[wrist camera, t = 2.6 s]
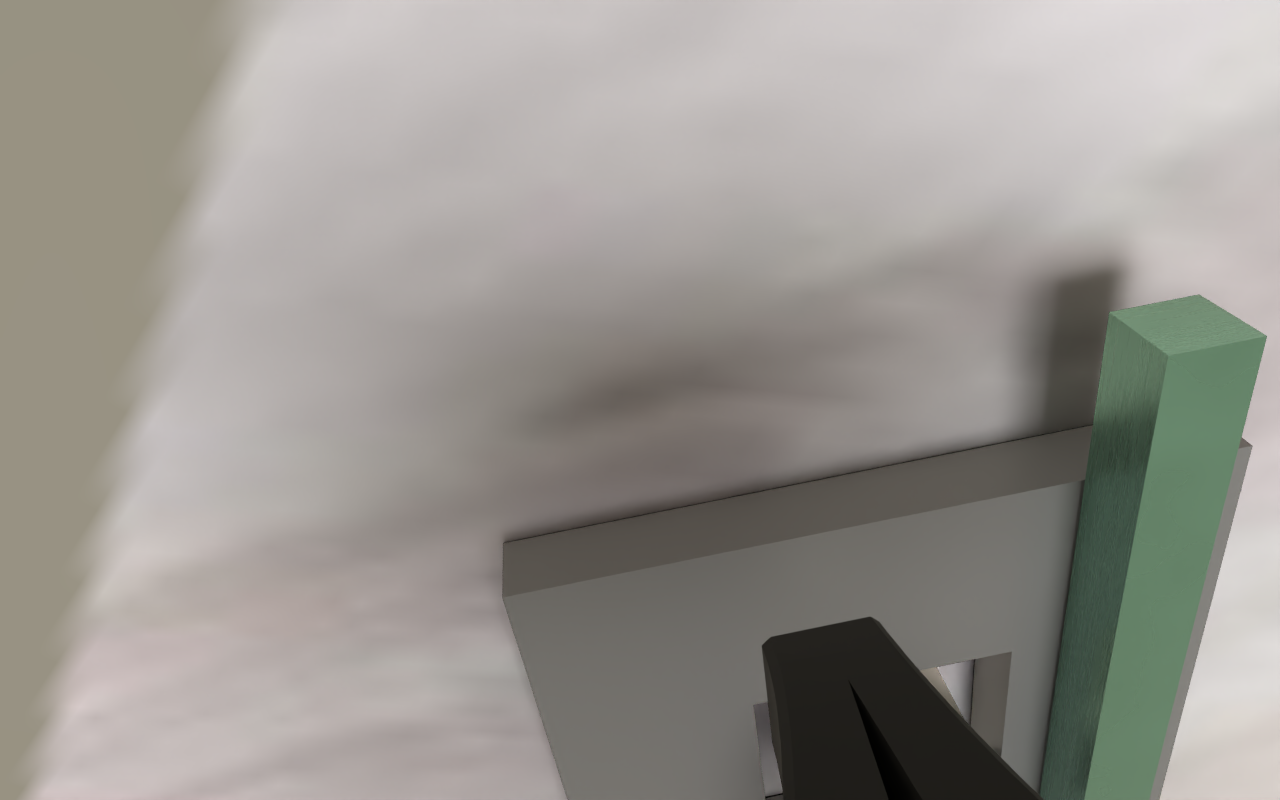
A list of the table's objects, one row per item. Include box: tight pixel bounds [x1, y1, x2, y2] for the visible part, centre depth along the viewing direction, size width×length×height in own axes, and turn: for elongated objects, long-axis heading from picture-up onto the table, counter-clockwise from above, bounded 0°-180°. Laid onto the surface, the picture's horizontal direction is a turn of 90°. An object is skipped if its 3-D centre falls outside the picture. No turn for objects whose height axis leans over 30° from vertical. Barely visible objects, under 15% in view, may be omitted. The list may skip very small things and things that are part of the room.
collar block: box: [502, 425, 1252, 800], centre depth 20 cm, size 14×14×2 cm
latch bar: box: [1040, 295, 1267, 800], centre depth 18 cm, size 18×2×2 cm, turn 9°
